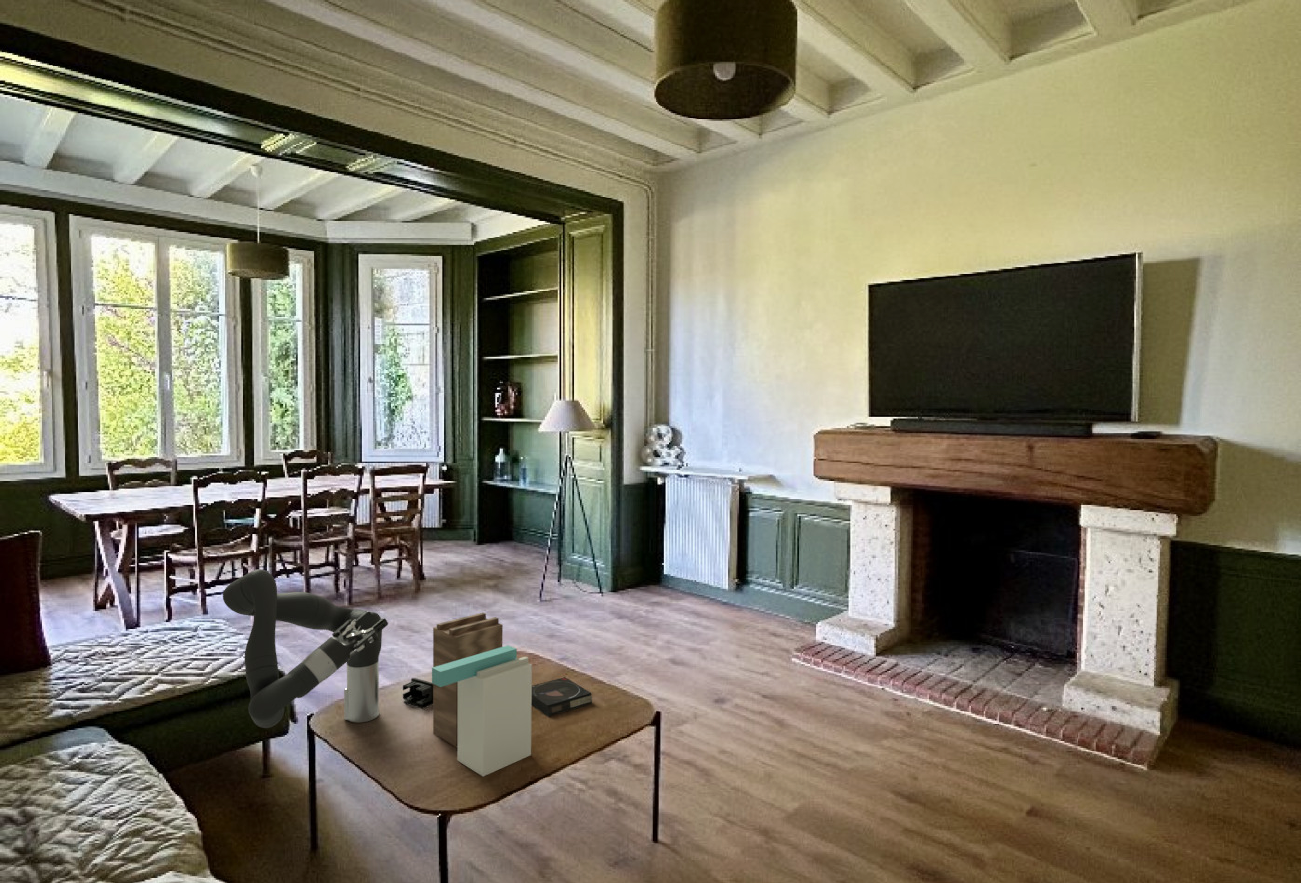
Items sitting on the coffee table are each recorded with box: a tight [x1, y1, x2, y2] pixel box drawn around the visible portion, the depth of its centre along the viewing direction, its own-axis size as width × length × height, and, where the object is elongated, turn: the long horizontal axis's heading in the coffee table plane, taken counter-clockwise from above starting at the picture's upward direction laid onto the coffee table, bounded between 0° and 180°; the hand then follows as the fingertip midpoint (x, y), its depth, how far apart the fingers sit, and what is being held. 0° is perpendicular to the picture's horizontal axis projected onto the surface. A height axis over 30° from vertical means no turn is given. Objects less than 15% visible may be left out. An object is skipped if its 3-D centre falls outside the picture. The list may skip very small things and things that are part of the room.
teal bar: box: [431, 644, 518, 687], centre depth 195 cm, size 24×4×4 cm, turn 138°
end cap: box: [402, 677, 433, 710], centre depth 236 cm, size 10×7×7 cm
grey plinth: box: [456, 656, 533, 777], centre depth 200 cm, size 16×12×28 cm
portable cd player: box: [531, 676, 593, 717], centre depth 239 cm, size 16×17×4 cm
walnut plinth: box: [432, 612, 504, 748], centre depth 216 cm, size 16×12×34 cm
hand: (378, 617), depth 193 cm, fingers open, 8 cm apart
